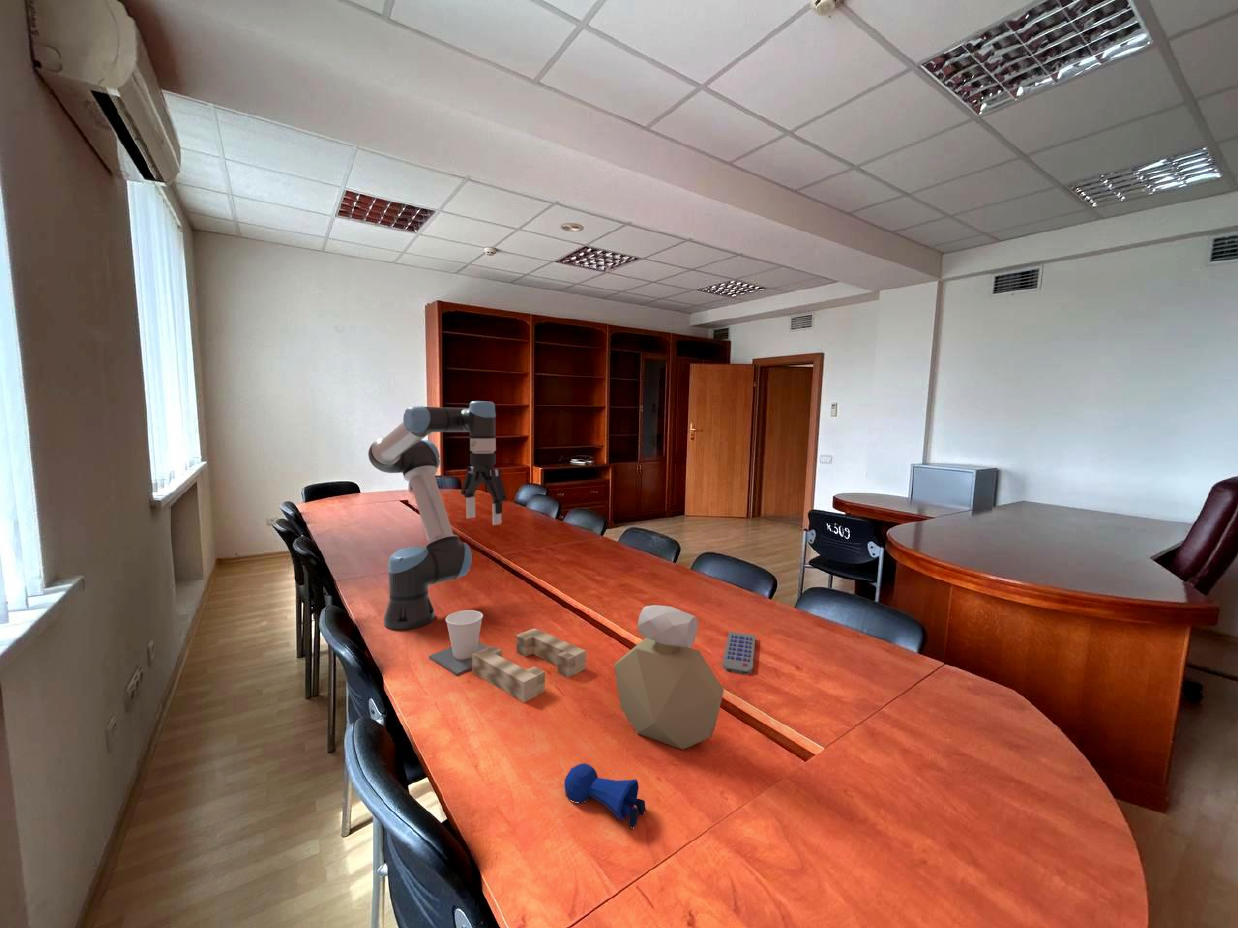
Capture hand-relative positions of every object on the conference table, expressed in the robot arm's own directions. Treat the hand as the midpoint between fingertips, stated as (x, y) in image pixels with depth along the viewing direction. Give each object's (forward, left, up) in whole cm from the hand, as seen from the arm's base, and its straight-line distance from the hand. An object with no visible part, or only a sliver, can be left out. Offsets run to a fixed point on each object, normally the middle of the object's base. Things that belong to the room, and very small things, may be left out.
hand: (483, 521), depth 151 cm
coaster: (+11, -14, -35) cm, 39 cm away
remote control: (+68, +39, -35) cm, 86 cm away
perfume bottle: (+72, -5, -35) cm, 80 cm away
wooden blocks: (+30, -7, -35) cm, 46 cm away
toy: (+74, -28, -35) cm, 87 cm away
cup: (+11, -14, -34) cm, 39 cm away
